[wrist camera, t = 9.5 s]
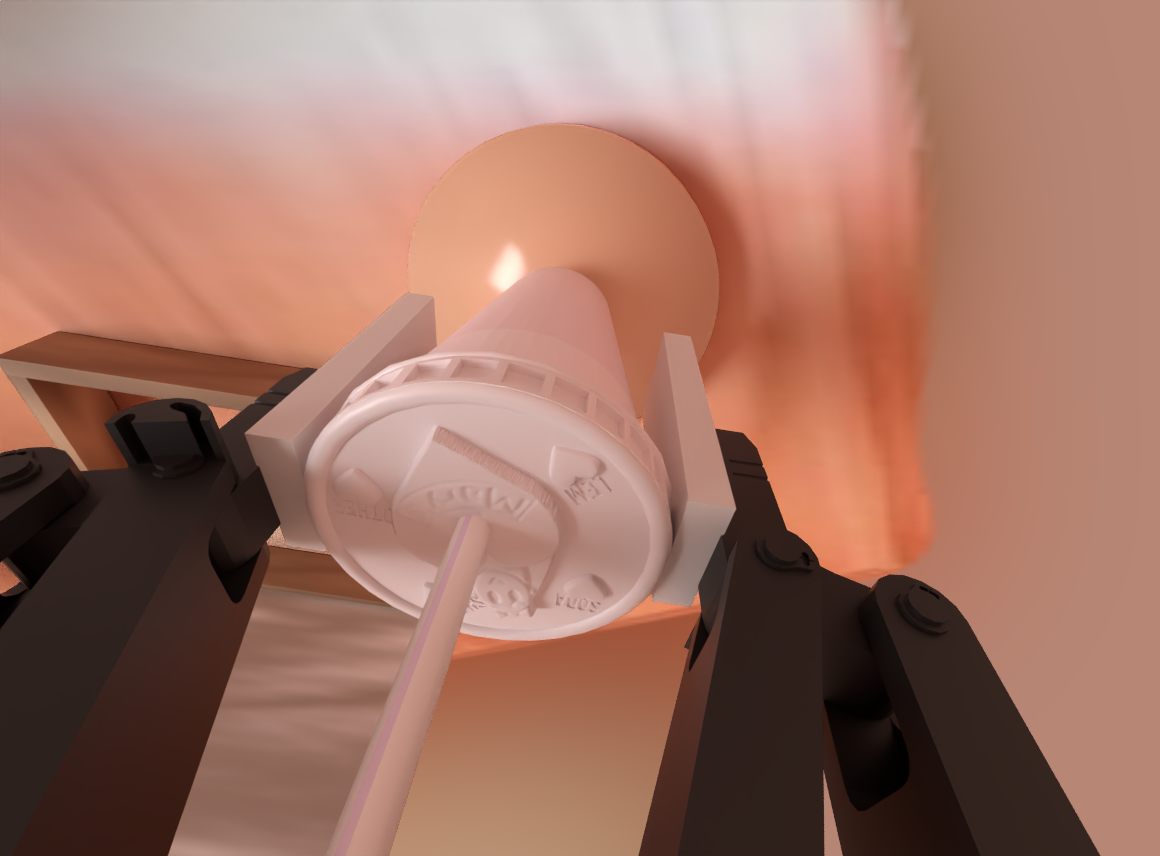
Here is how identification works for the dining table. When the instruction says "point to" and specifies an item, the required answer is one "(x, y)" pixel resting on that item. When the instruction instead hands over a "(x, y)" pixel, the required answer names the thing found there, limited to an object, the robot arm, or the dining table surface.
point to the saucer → (570, 237)
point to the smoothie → (488, 505)
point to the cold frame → (275, 630)
